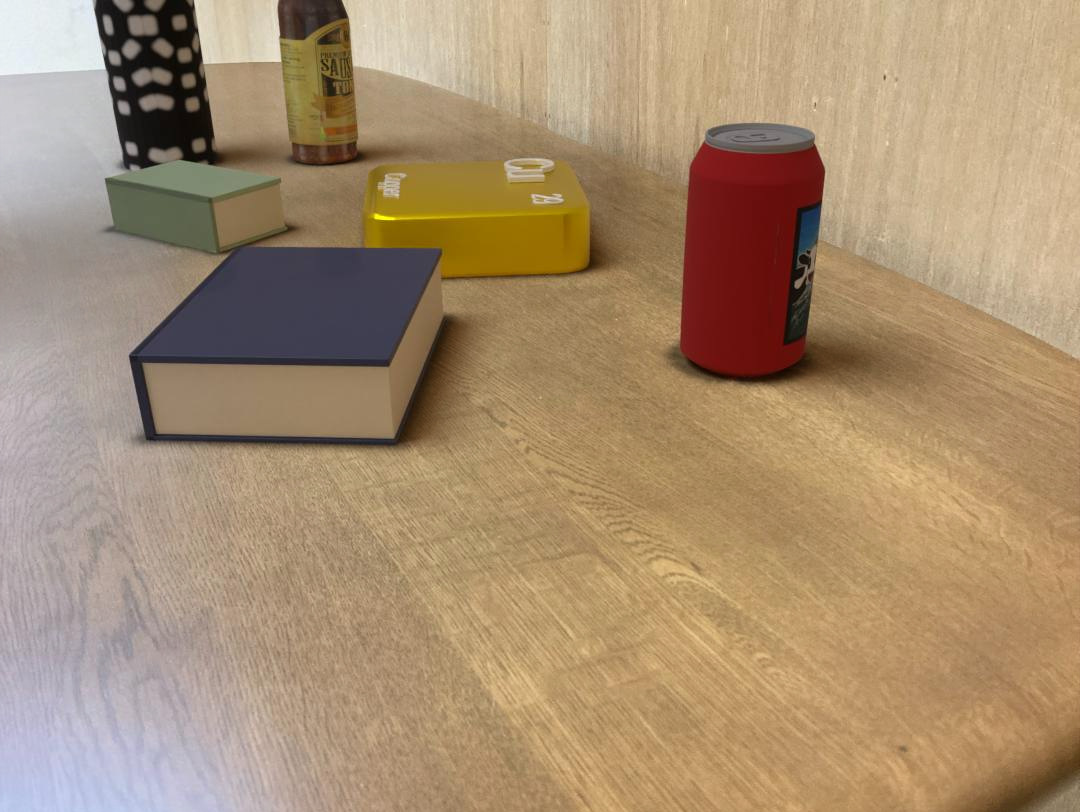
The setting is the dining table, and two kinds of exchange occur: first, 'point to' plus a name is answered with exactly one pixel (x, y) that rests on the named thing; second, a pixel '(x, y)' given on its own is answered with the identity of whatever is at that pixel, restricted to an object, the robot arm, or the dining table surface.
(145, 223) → the hardcover book
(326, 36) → the sauce bottle
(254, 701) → the dining table surface
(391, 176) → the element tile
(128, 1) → the spotted tube
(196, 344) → the encyclopedia
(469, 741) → the dining table surface
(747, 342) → the beverage can
